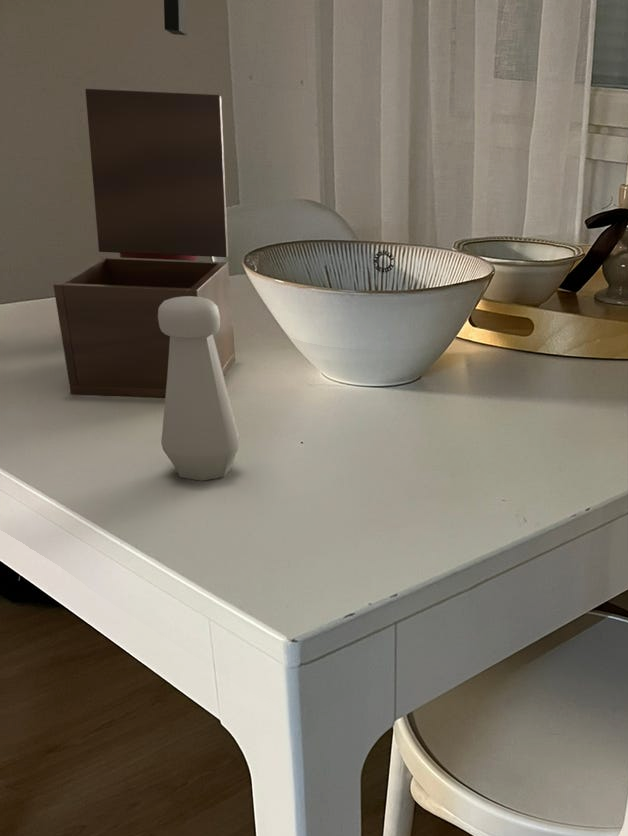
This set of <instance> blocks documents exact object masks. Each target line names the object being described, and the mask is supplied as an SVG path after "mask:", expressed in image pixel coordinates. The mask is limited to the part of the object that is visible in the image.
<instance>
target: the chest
mask: <svg viewBox="0 0 628 836" xmlns="http://www.w3.org/2000/svg"><path fill="white" fill-rule="evenodd" d="M229 273H230V272H229V262H228V261H211V260H210V261H209V260H197V261H189V260H165V259H141V258H120V257H118V256H117V257H115V256H113V257H112V256H109V257H107V256H99V257H98V258H97V259H95V260H93V261H91V262H90V263H88V264H86V265H84V266H83V267H80V269H78V270H76V271H74V272H73V273H71V274H69V275H67V276H66V277H64V278H62V279H60V280H59V281H57V282H56V283H54V284H53V293H54V298H55V299H54V300H55V304H56V310H57V316H58V317H57V318H58V323H59V330H60V335H61V341H62V347H63V353H64V361H65V366H66V372H67V378H68V384H69V392H70V394H71V395H88V396H89V395H90V396H91V395H92V396H93V395H94V396H114V397H115V396H117V397H118V396H119V397H144V398H146V397H147V398H165V397H166V386H167V375H168V360H169V344H170V336H168V335H166V334H164V333H163V332H162V331H161V329H160V327H159V321H158V308H159V307H160V305H161V304H162V303H163V302H164V301H165V300H168V299H171V298H175V297H184V296H193V297H201V298H205V299H209V300H211V301H212V302H213V303H214V304H215V305H217V307H218V310H219V314H220V327H219V330H218V332H217V333H215V334H213V337H214V341H215V345H216V349H217V353H218V357H219V360H220V364H221V368H222V372H223V376H224V377H225V375H226V374H227V372H228V371H229V369H230V368H231V367H232V366H233V364H235V361H236V351H235V350H236V348H235V337H234V335H235V334H234V324H233V311H232V298H231V297H232V296H231V284H230V274H229Z"/></svg>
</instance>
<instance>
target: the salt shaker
mask: <svg viewBox="0 0 628 836" xmlns="http://www.w3.org/2000/svg"><path fill="white" fill-rule="evenodd" d="M158 321H159V327H160V329H161V331H162V332H163V333H164V334H166V335H168V336H170V344H169V360H168V375H167V386H166V397H164V409H163V420H162V430H161V441H160V445H161V447H162V450H163V452H164V453H165V455H166V456H167V458H168V459H169V460H170V463H172V465H173V467H174V469H175V470H176V472H177V474H178V476H179V477H180V478H182V479H189V480H195V481H199V482H202V481H208V480H214V479H220V478H224V477H225V476H227V474H228V473H229V472H230V471H231V470H232V468H233V464H234V461H235V459H236V454H237V452H238V450H239V445H240V436H239V431H238V427H237V423H236V419H235V415H234V411H233V408H232V404H231V400H230V395H229V391H228V388H227V384H226V380H225V375H224V376H223V372H222V368H221V364H220V360H219V357H218V353H217V349H216V345H215V341H214V337H213V334H215V333H217V332H218V330H219V327H220V314H219V310H218V307H217V305H215V304H214V303H213V302H212V301H211V300H209V299H205V298H201V297H193V296H184V297H175V298H171V299H168V300H165V301H164V302H163V303H162V304H161V305H160V307H159V308H158Z"/></svg>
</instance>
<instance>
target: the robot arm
mask: <svg viewBox="0 0 628 836" xmlns="http://www.w3.org/2000/svg"><path fill="white" fill-rule="evenodd" d="M163 16H164V18H163V19H164V30H165V31H167V32H168V33H170V34H172V35H179V36H187V35H188V27H187V26H188V25H187V24H188V23H187V22H188V21H187V16H188V15H187V0H163Z"/></svg>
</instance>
